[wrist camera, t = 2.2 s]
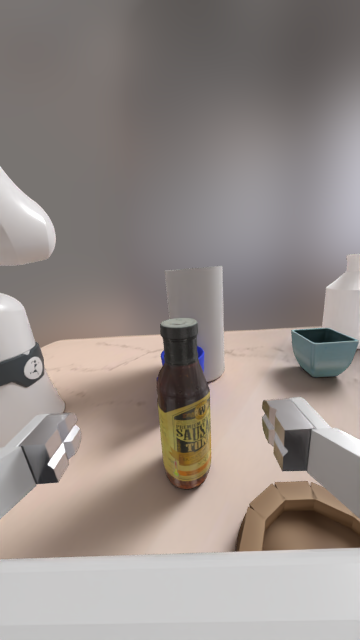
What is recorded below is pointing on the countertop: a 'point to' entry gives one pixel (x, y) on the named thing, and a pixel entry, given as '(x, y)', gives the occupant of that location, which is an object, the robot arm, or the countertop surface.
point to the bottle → (344, 301)
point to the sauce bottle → (183, 406)
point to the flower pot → (323, 351)
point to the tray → (297, 520)
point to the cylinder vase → (200, 310)
